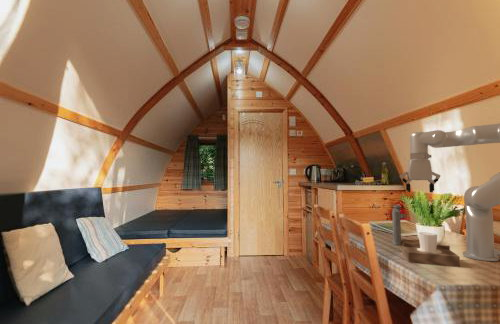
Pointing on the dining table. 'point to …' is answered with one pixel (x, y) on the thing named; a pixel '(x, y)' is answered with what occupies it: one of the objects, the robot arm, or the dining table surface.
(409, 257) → the rack
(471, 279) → the dining table surface
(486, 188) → the robot arm
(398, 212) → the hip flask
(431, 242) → the white cup
